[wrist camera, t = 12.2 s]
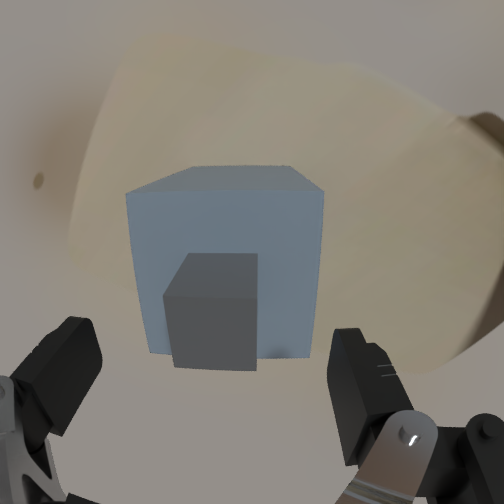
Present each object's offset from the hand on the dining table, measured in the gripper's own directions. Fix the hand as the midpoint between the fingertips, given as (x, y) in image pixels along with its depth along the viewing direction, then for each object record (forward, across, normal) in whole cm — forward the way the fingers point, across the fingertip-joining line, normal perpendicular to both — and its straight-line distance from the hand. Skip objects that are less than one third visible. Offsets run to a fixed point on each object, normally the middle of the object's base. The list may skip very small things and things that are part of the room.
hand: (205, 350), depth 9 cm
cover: (+19, 0, 0) cm, 19 cm away
